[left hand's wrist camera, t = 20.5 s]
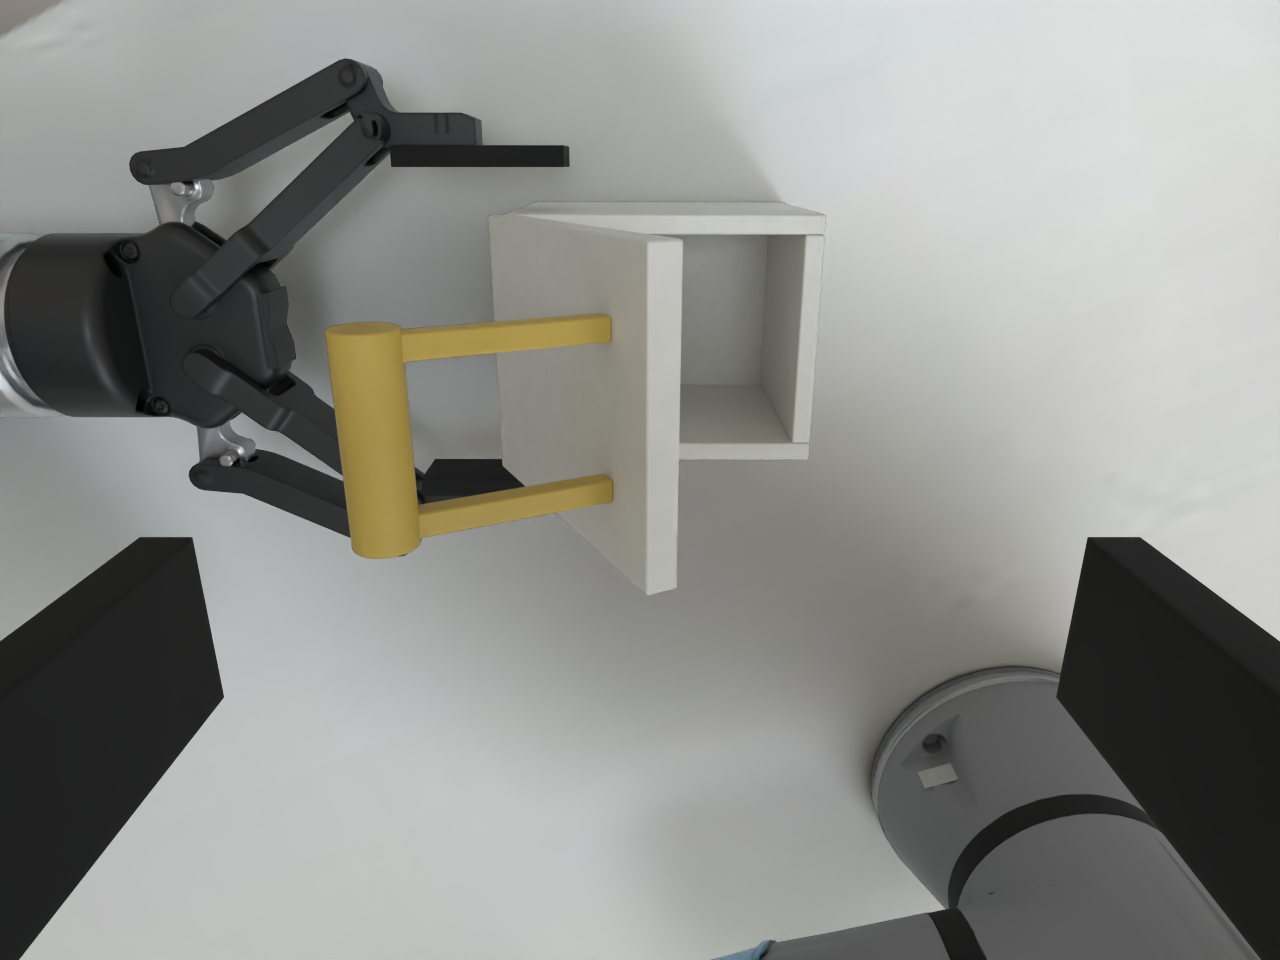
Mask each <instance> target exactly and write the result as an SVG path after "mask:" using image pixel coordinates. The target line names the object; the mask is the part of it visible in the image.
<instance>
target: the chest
mask: <svg viewBox="0 0 1280 960" xmlns="http://www.w3.org/2000/svg"><path fill="white" fill-rule="evenodd" d="M508 214H514V215H521V216H527V217H534V218H541V219H548V220H555V221H561V222H568V223H575V224H582V225H589V226H596V227H602V228H609V229H616V230H623V231H630V232H636V233H643V234H650V235H657V236H664V237H671V238H677V239H681V240H682V241H683V269H682V323H681V377H680V431H679V459H712V460H807V459H808V456H809V443H808V442H809V441H810V429H811V415H812V402H813V388H814V375H815V361H816V347H817V334H818V320H819V307H820V293H821V280H822V266H823V253H824V239H825V237H824V235H823V234H824V233H825V226H826V215H825V214H821V213H818V212H814V211H810V210H807V209H803V208H799V207H795V206H792V205H788V204H786V203H783V202H534V203H533V204H531V205H528V206H526V207H523V208H520V209H517V210H515V211H512V212H509V213H506V214H504V215H508Z"/></svg>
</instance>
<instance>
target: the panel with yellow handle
mask: <svg viewBox="0 0 1280 960" xmlns="http://www.w3.org/2000/svg"><path fill="white" fill-rule="evenodd" d="M488 220H489V237H490V255H491V272H492V290H493V307H494V322H481V323H469V324H456V325H444V326H432V327H419V328H407V329H401V327H400V326H399V325H397V324H393V323H387V322H356V323H347V324H340V325H336V326H332V327H329V328H327V329H326V330H325V339H326V347H327V355H328V363H329V370H330V378H331V386H332V394H333V402H334V410H335V418H336V426H337V434H338V442H339V450H340V457H341V465H342V473H343V481H344V489H345V497H346V505H347V513H348V521H349V529H350V536H351V544H352V550H353V551H354V553H356V554H357V555H359V556H361V557H365V558H371V559H385V558H393V557H398V556H401V555H405V554H407V553H410V552H412V551H413V550H415V549H416V548H418V547H419V545H420V543H421V538H424V537H429V536H434V535H440V534H445V533H450V532H456V531H461V530H466V529H472V528H477V527H482V526H488V525H493V524H498V523H504V522H509V521H514V520H520V519H525V518H530V517H536V516H541V515H546V514H552V513H556V514H557V515H558V516H559V517H560V518H561V519H562V520H563V521H564V522H565V523H567V524H568V525H569V526H570V527H571V528H572V529H573V530H574V531H575V532H577V533H578V534H579V535H580V536H581V537H582V538H583V539H584V540H585V541H586V542H588V543H589V544H590V545H591V546H592V547H593V548H594V549H595V550H596V551H598V552H599V553H600V554H601V555H602V556H603V557H604V558H605V559H606V560H608V561H609V562H610V563H611V564H612V565H613V566H614V567H615V568H616V569H617V570H619V571H620V572H621V573H622V574H623V575H624V576H625V577H626V578H627V579H629V580H630V581H631V582H632V583H633V584H634V585H635V586H636V587H637V588H638V589H640V590H641V591H642V592H643V593H644V594H645V595H651V594H656V593H660V592H664V591H668V590H672V589H675V588H676V587H677V539H678V485H679V431H680V377H681V323H682V269H683V241H682V240H681V239H677V238H671V237H664V236H657V235H650V234H643V233H636V232H630V231H623V230H616V229H609V228H602V227H596V226H589V225H582V224H575V223H568V222H561V221H555V220H548V219H541V218H534V217H527V216H521V215H514V214H508V215H489V217H488ZM493 353H496V359H497V377H498V394H499V412H500V429H501V447H502V464H503V466H504V467H505V468H506V469H507V470H508V471H509V472H510V473H511V474H512V475H513V476H515V477H516V478H517V479H518V480H519V481H520V482H521V483H522V484H523V485H525V486H526V487H521V488H515V489H509V490H503V491H497V492H491V493H485V494H479V495H474V496H468V497H462V498H456V499H450V500H444V501H438V502H433V503H427V504H421V505H418V499H417V488H416V478H415V467H414V457H413V446H412V436H411V425H410V415H409V404H408V394H407V383H406V373H405V362H411V361H422V360H432V359H442V358H452V357H463V356H473V355H483V354H493Z"/></svg>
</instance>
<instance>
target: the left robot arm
mask: <svg viewBox="0 0 1280 960" xmlns="http://www.w3.org/2000/svg"><path fill="white" fill-rule="evenodd" d="M223 698H224V695H223V690H222V685H221V680H220V675H219V669H218V664H217V659H216V654H215V649H214V644H213V639H212V634H211V629H210V624H209V619H208V614H207V609H206V604H205V599H204V594H203V589H202V584H201V579H200V574H199V569H198V564H197V559H196V554H195V549H194V544H193V539H192V537H140V538H138V539H137V540H136V541H134V542H133V543H132V544H130V545H129V546H128V547H126V548H125V549H124V550H122V551H121V552H120V553H118V554H117V555H116V556H114V557H113V558H112V559H110V560H109V561H108V562H106V563H105V564H104V565H102V566H101V567H99V568H98V569H97V570H95V571H94V572H93V573H91V574H90V575H89V576H87V577H86V578H85V579H83V580H82V581H81V582H79V583H78V584H77V585H75V586H74V587H73V588H71V589H70V590H69V591H67V592H66V593H65V594H63V595H62V596H61V597H59V598H58V599H57V600H55V601H54V602H53V603H51V604H50V605H49V606H47V607H46V608H45V609H43V610H42V611H40V612H39V613H38V614H36V615H35V616H34V617H32V618H31V619H30V620H28V621H27V622H26V623H24V624H23V625H22V626H20V627H19V628H18V629H16V630H15V631H14V632H12V633H11V634H10V635H8V636H7V637H6V638H4V639H3V640H2V641H0V960H19V959H20V958H21V957H22V955H23V954H24V953H25V951H26V950H27V949H28V948H29V946H30V945H31V944H32V942H33V941H34V940H35V939H36V937H37V936H38V935H39V933H40V932H41V931H42V930H43V928H44V927H45V926H46V924H47V923H48V922H49V921H50V919H51V918H52V917H53V916H54V914H55V913H56V912H57V910H58V909H59V908H60V907H61V905H62V904H63V903H64V901H65V900H66V899H67V898H68V896H69V895H70V894H71V892H72V891H73V890H74V889H75V887H76V886H77V885H78V884H79V882H80V881H81V880H82V878H83V877H84V876H85V875H86V873H87V872H88V871H89V869H90V868H91V867H92V866H93V864H94V863H95V862H96V860H97V859H98V858H99V857H100V855H101V854H102V853H103V851H104V850H105V849H106V848H107V846H108V845H109V844H110V843H111V841H112V840H113V839H114V837H115V836H116V835H117V834H118V832H119V831H120V830H121V828H122V827H123V826H124V825H125V823H126V822H127V821H128V819H129V818H130V817H131V816H132V814H133V813H134V812H135V811H136V809H137V808H138V807H139V805H140V804H141V803H142V802H143V800H144V799H145V798H146V796H147V795H148V794H149V793H150V791H151V790H152V789H153V787H154V786H155V785H156V784H157V782H158V781H159V780H160V779H161V777H162V776H163V775H164V773H165V772H166V771H167V770H168V768H169V767H170V766H171V764H172V763H173V762H174V761H175V759H176V758H177V757H178V755H179V754H180V753H181V752H182V750H183V749H184V748H185V746H186V745H187V744H188V743H189V741H190V740H191V739H192V738H193V736H194V735H195V734H196V732H197V731H198V730H199V729H200V727H201V726H202V725H203V723H204V722H205V721H206V720H207V718H208V717H209V716H210V714H211V713H212V712H213V711H214V709H215V708H216V707H217V706H218V704H219V703H220V702H221V700H222V699H223ZM871 792H872V799H873V804H874V807H875V810H876V814H877V816H878V819H879V822H880V825H881V827H882V830H883V832H884V834H885V836H886V838H887V840H888V841H889V843H890V845H891V846H892V848H893V849H894V851H895V853H896V854H897V855H898V857H899V858H900V859H901V861H902V862H903V863H904V864H905V865H906V866H907V867H908V868H909V869H910V870H911V871H912V873H913V874H914V875H915V876H916V877H917V878H918V879H919V881H920V882H921V883H922V884H923V885H924V886H925V887H926V888H927V889H928V890H929V892H930V893H931V894H932V895H933V896H934V897H935V898H936V899H937V900H938V901H939V902H940V904H941V905H942V906H943V907H944V908H945V909H946V910H941V911H936V912H931V913H922V914H918V915H913V916H908V917H903V918H898V919H894V920H889V921H884V922H879V923H874V924H869V925H865V926H860V927H855V928H850V929H845V930H841V931H836V932H831V933H826V934H820V935H815V936H809V937H804V938H799V939H793V940H788V941H782V942H776V941H772V940H769V941H764V942H762V943H761V944H759V945H758V946H757V947H756V948H752V949H749V950H745V951H742V952H738V953H735V954H731V955H728V956H724V957H720V958H716V959H712V960H1280V641H1278V640H1277V639H1276V638H1274V637H1273V636H1272V635H1270V634H1269V633H1268V632H1266V631H1265V630H1264V629H1262V628H1261V627H1260V626H1258V625H1257V624H1256V623H1254V622H1253V621H1252V620H1250V619H1249V618H1248V617H1246V616H1245V615H1244V614H1242V613H1241V612H1240V611H1238V610H1237V609H1235V608H1234V607H1233V606H1231V605H1230V604H1229V603H1227V602H1226V601H1225V600H1223V599H1222V598H1221V597H1219V596H1218V595H1217V594H1215V593H1214V592H1213V591H1211V590H1210V589H1209V588H1207V587H1206V586H1205V585H1203V584H1202V583H1201V582H1199V581H1198V580H1197V579H1195V578H1194V577H1193V576H1191V575H1190V574H1189V573H1187V572H1186V571H1185V570H1183V569H1182V568H1181V567H1179V566H1178V565H1176V564H1175V563H1174V562H1172V561H1171V560H1170V559H1168V558H1167V557H1166V556H1164V555H1163V554H1162V553H1160V552H1159V551H1158V550H1156V549H1155V548H1154V547H1152V546H1151V545H1150V544H1148V543H1147V542H1146V541H1144V540H1143V539H1142V538H1140V537H1088V539H1087V544H1086V549H1085V554H1084V559H1083V564H1082V569H1081V574H1080V579H1079V584H1078V589H1077V594H1076V599H1075V604H1074V609H1073V614H1072V619H1071V624H1070V629H1069V634H1068V639H1067V644H1066V649H1065V654H1064V659H1063V664H1062V669H1061V675H1060V674H1057V673H1054V672H1050V671H1045V670H1041V669H1033V668H1019V667H1013V668H998V669H990V670H985V671H980V672H976V673H972V674H969V675H966V676H963V677H960V678H957V679H955V680H952V681H950V682H948V683H946V684H944V685H942V686H940V687H938V688H936V689H934V690H933V691H931V692H929V693H928V694H926V695H925V696H923V697H922V698H920V699H919V700H918V701H917V702H915V703H914V704H913V705H912V706H910V707H909V708H908V709H907V710H906V711H905V712H904V713H903V714H902V715H901V716H900V717H899V718H898V720H897V721H896V722H895V723H894V724H893V726H892V727H891V728H890V730H889V731H888V733H887V734H886V736H885V738H884V740H883V741H882V743H881V745H880V747H879V750H878V752H877V754H876V758H875V761H874V764H873V770H872V777H871Z"/></svg>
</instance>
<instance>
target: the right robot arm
mask: <svg viewBox="0 0 1280 960" xmlns="http://www.w3.org/2000/svg"><path fill="white" fill-rule="evenodd" d="M349 112H350V113H351V115H352V117H353V119H354V122H353V123H352V124H351V125H350V126H349V127H348V128H347V129H346V130H345V131H343V132H342V133H341V134H340V135H339V136H338V137H337V138H336V139H335V140H334V141H333V142H332V143H331V144H330V145H329V146H328V147H327V148H326V149H325V150H324V151H323V152H322V153H321V154H320V155H319V156H318V157H317V158H316V159H315V160H314V161H313V162H312V163H311V164H310V165H309V166H308V167H307V168H306V169H305V170H304V171H302V172H301V173H300V174H299V175H298V176H297V177H296V178H295V179H294V180H293V181H292V182H291V183H290V184H289V185H288V186H287V187H286V188H285V189H284V190H283V191H282V192H281V193H280V194H279V195H278V196H277V197H276V198H275V199H274V200H273V201H272V202H271V203H270V204H269V205H268V206H267V207H266V208H265V209H264V210H263V211H261V212H260V213H259V214H258V215H257V216H256V217H255V218H254V219H253V220H252V221H251V222H250V223H249V224H248V225H246V226H245V227H243V228H241V229H240V230H238V231H237V232H236V233H234V234H233V235H232V236H231V237H230V238H229V239H228V240H225V239H224V238H222V237H221V236H219V235H218V234H216V233H215V232H213V231H212V230H210V229H209V228H207V227H206V226H204V225H202V224H200V223H198V222H195V216H194V214H195V210H196V208H197V206H199V205H200V204H201V203H204V202H206V201H208V200H209V199H210V198H211V196H212V195H213V190H214V185H213V183H212V180H218V179H223V178H226V177H229V176H232V175H234V174H236V173H239V172H241V171H243V170H245V169H246V168H248V167H250V166H252V165H254V164H255V163H257V162H259V161H261V160H263V159H265V158H266V157H268V156H270V155H272V154H274V153H276V152H277V151H279V150H281V149H283V148H285V147H286V146H288V145H290V144H292V143H294V142H296V141H297V140H299V139H301V138H303V137H305V136H307V135H308V134H310V133H312V132H314V131H316V130H318V129H319V128H321V127H323V126H325V125H327V124H328V123H330V122H332V121H334V120H336V119H338V118H339V117H341V116H343V115H345V114H347V113H349ZM389 154H390V156H391V167H569V147H568V146H563V145H483V144H482V127H481V120H479V119H477V118H474V117H472V116H470V115H467V114H463V113H400V112H398V111H397V110H395V109H394V108H393V107H392V106H391V104H390V102H389V101H388V98H387V96H386V94H385V91H384V89H383V81H382V78H381V75H380V74H379V72H378V71H377V70H376V69H374V68H373V67H371V66H368V65H365V64H363V63H360V62H357V61H354V60H352V59H342V60H339V61H337V62H335V63H333V64H332V65H330V66H328V67H326V68H324V69H323V70H321V71H319V72H317V73H315V74H314V75H312V76H310V77H308V78H307V79H305V80H303V81H301V82H299V83H298V84H296V85H294V86H292V87H290V88H289V89H287V90H285V91H283V92H282V93H280V94H278V95H276V96H274V97H273V98H271V99H269V100H267V101H265V102H264V103H262V104H260V105H258V106H257V107H255V108H253V109H251V110H249V111H248V112H246V113H244V114H242V115H240V116H239V117H237V118H235V119H233V120H232V121H230V122H228V123H226V124H224V125H223V126H221V127H219V128H217V129H215V130H214V131H212V132H210V133H208V134H206V135H205V136H203V137H201V138H199V139H198V140H196V141H194V142H192V143H190V144H189V145H187V146H185V147H180V148H170V149H160V150H151V151H141V152H138V153H135V154H134V155H133V156H132V157H131V160H130V163H129V165H130V171H131V173H132V175H133V177H134V178H135V179H136V180H137V181H138V182H140V183H142V184H144V185H149V187H150V191H151V194H152V198H153V201H154V205H155V209H156V212H157V216H158V219H159V223H160V225H159V226H158V227H156V228H155V229H153V230H152V231H150V232H147V233H98V234H49V235H45V236H42V237H40V236H37V235H34V234H0V417H56V416H60V415H67V416H72V417H175V418H179V419H182V420H185V421H187V422H189V423H191V424H193V425H195V426H197V431H198V443H199V454H200V462H199V463H197V464H196V465H194V466H193V467H192V468H191V469H190V471H189V478H190V481H191V482H192V484H193V485H194V486H196V487H197V488H199V489H202V490H209V491H220V492H232V493H243V494H246V495H248V496H251V497H253V498H255V499H258V500H260V501H263V502H265V503H267V504H270V505H272V506H275V507H277V508H280V509H282V510H284V511H287V512H289V513H292V514H294V515H297V516H299V517H301V518H304V519H306V520H309V521H311V522H314V523H316V524H318V525H321V526H323V527H326V528H328V529H331V530H333V531H335V532H338V533H340V534H343V535H345V536H347V537H350V538H351V536H350V529H349V521H348V513H347V505H346V497H345V489H344V482H343V481H341V480H339V479H336V478H334V477H331V476H329V475H327V474H324V473H322V472H320V471H317V470H315V469H313V468H310V467H308V466H305V465H303V464H301V463H298V462H296V461H294V460H291V459H289V458H286V457H284V456H281V455H279V454H276V453H273V452H269V451H265V450H258V449H255V446H256V445H255V442H254V441H253V440H252V439H248V438H245V437H242V436H239V435H237V434H236V433H235V432H234V431H233V430H232V428H231V426H230V422H229V420H231V419H233V418H235V417H236V416H238V415H239V414H240V413H241V412H242V413H244V414H245V415H247V416H248V417H250V418H251V419H252V420H254V421H255V422H257V423H258V424H260V425H261V426H263V427H264V428H266V429H269V430H273V431H278V432H281V433H282V434H284V435H285V436H287V437H288V438H290V439H291V440H292V441H294V442H295V443H297V444H298V445H300V446H301V447H302V448H304V449H305V450H307V451H308V452H310V453H311V454H313V455H314V456H315V457H317V458H318V459H320V460H321V461H323V462H324V463H325V464H327V465H328V466H330V467H331V468H333V469H334V470H335V471H337V472H338V473H340V474H341V475H343V473H342V465H341V457H340V450H339V442H338V434H337V426H336V418H335V410H334V409H333V408H332V407H330V406H329V405H328V404H326V403H325V402H323V401H322V400H321V399H319V398H318V397H317V396H316V395H315V394H314V392H313V389H312V388H311V387H310V386H309V385H308V384H306V383H305V382H303V381H302V380H301V379H299V378H298V377H296V376H295V375H294V374H292V373H291V372H289V370H290V367H291V362H292V361H293V360H294V359H296V353H295V346H294V340H293V338H292V336H291V333H290V331H289V328H288V326H287V313H288V305H289V303H288V296H287V289H286V286H281V285H280V283H279V281H278V279H277V278H276V276H275V275H274V274H273V273H272V272H271V271H270V270H271V269H272V268H273V267H274V266H275V265H276V264H277V263H278V262H280V261H281V260H282V259H283V258H284V257H285V256H286V255H287V254H288V253H289V252H290V251H291V250H292V249H293V247H294V245H295V243H296V242H297V241H298V240H299V239H300V238H301V237H302V236H303V235H305V234H306V233H307V232H308V231H309V230H310V229H311V228H312V227H313V226H314V225H315V224H316V223H317V222H318V221H319V220H320V219H321V218H322V217H323V216H325V215H326V214H327V213H328V212H329V211H330V210H331V209H332V208H333V207H334V206H335V205H336V204H337V203H338V202H339V201H340V200H341V199H342V198H343V197H344V196H346V195H347V194H348V193H349V192H350V191H351V190H352V189H353V188H354V187H355V186H356V185H357V184H358V183H359V182H360V181H361V180H362V179H363V178H364V177H366V176H367V175H368V174H369V173H370V172H371V171H372V170H373V169H374V168H375V167H376V166H377V165H378V164H379V163H380V162H381V161H382V160H383V159H384V158H385V157H387V156H388V155H389ZM415 478H416V488H417V499H418V505H421V504H427V503H433V502H438V501H444V500H450V499H456V498H462V497H468V496H474V495H479V494H485V493H491V492H497V491H503V490H509V489H515V488H521V487H526V486H525V485H523V484H522V483H521V482H520V481H519V480H518V479H517V478H516V477H515V476H513V475H512V474H511V473H510V472H509V471H508V470H507V469H506V468H505V467H504V466H503V464H502V459H435V460H434V462H433V463H432V464H431V466H430V467H429V469H428V470H427V472H426V473H425V474H424V473H422V472H421V471H420V470H418V469H417V468H415ZM407 554H408V553H407ZM405 555H406V554H405ZM401 556H404V555H401ZM398 557H399V556H398Z"/></svg>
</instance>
